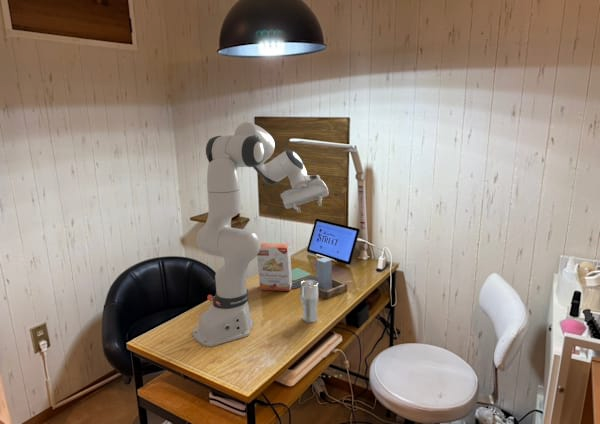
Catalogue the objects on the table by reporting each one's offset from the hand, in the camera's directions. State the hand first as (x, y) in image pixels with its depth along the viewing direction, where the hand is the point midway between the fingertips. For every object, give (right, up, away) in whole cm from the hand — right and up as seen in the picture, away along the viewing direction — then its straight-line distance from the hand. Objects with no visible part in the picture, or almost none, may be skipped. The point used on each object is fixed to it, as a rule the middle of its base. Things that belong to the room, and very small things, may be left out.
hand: (309, 208), depth 175 cm
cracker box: (-15, -36, +12) cm, 41 cm away
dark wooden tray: (+7, -36, +10) cm, 38 cm away
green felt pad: (-6, -33, +27) cm, 42 cm away
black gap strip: (-3, -35, +18) cm, 39 cm away
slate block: (+7, -36, +11) cm, 38 cm away
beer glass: (0, -43, -15) cm, 46 cm away
